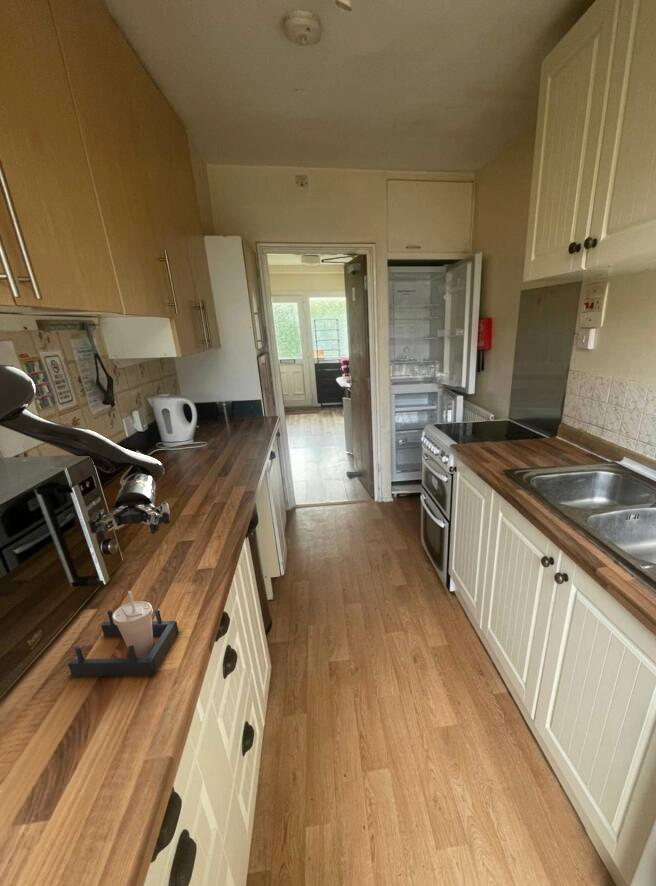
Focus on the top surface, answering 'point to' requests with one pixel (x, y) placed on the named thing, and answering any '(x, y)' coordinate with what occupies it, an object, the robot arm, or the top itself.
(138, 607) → the smoothie
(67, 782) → the top surface
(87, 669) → the rack
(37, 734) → the top surface
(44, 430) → the robot arm
